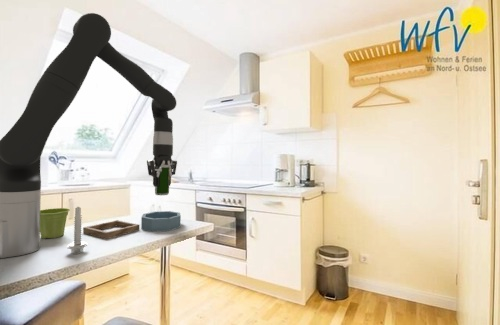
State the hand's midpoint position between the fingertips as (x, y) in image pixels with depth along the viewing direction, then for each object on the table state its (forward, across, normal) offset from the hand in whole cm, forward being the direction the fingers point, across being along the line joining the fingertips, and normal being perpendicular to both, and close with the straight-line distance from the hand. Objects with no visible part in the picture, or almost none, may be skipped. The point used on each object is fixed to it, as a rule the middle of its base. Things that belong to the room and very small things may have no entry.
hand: (162, 185), depth 103 cm
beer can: (+4, 0, 0) cm, 4 cm away
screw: (+16, -33, -2) cm, 37 cm away
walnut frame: (+16, -15, +9) cm, 24 cm away
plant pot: (+16, -29, +20) cm, 39 cm away
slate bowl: (+16, 0, 0) cm, 16 cm away
